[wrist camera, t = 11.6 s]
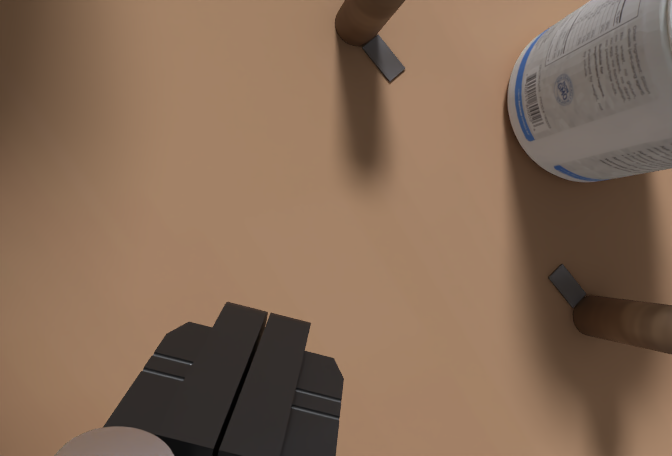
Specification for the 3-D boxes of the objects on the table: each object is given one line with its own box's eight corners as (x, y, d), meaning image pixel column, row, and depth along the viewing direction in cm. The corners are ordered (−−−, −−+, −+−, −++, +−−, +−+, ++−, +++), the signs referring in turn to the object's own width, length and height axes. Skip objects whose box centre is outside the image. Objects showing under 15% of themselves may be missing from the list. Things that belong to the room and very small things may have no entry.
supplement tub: (666, 100, 38) (951, 11, 24) (584, 217, 36) (837, 197, 22) (558, -6, 36) (792, -170, 22) (468, 111, 35) (657, 16, 21)
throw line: (326, 20, 33) (366, -50, 25) (357, -6, 34) (406, -83, 26) (589, 343, 36) (697, 370, 28) (615, 316, 37) (728, 335, 29)
